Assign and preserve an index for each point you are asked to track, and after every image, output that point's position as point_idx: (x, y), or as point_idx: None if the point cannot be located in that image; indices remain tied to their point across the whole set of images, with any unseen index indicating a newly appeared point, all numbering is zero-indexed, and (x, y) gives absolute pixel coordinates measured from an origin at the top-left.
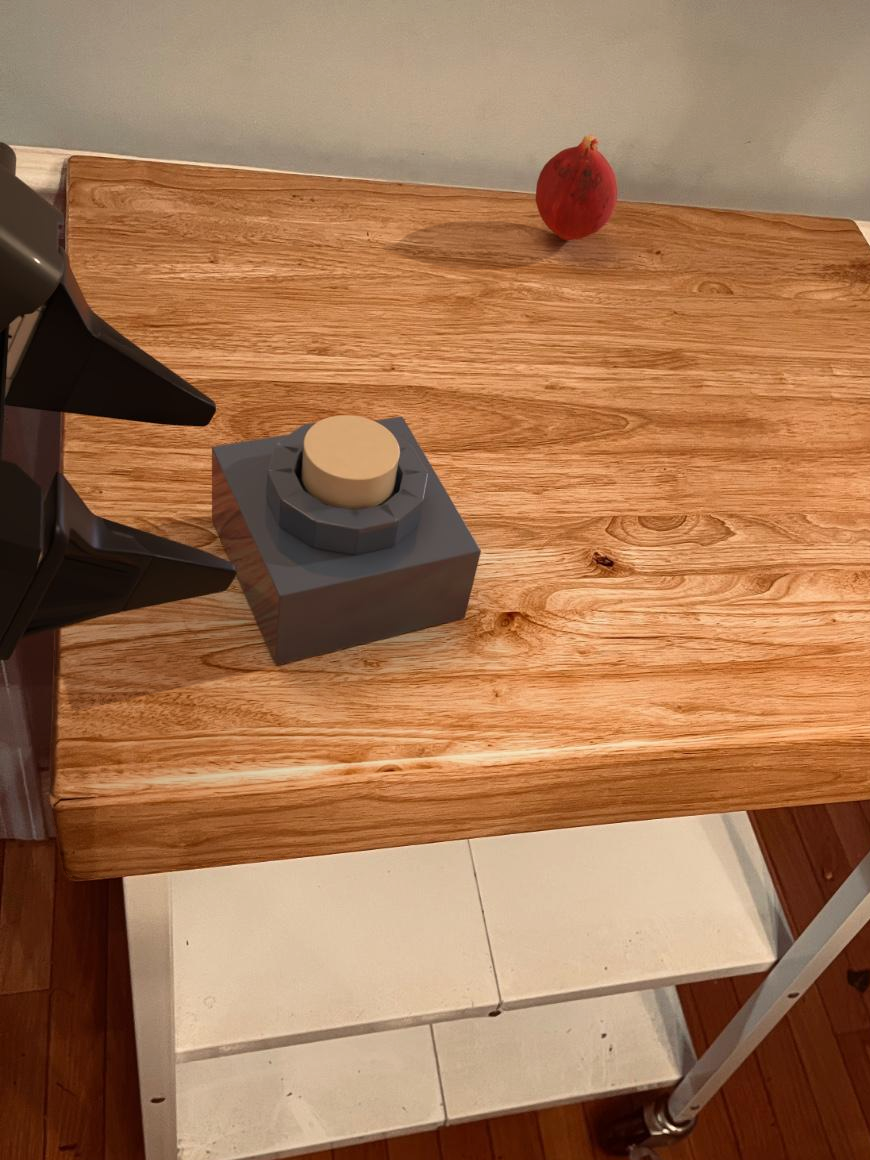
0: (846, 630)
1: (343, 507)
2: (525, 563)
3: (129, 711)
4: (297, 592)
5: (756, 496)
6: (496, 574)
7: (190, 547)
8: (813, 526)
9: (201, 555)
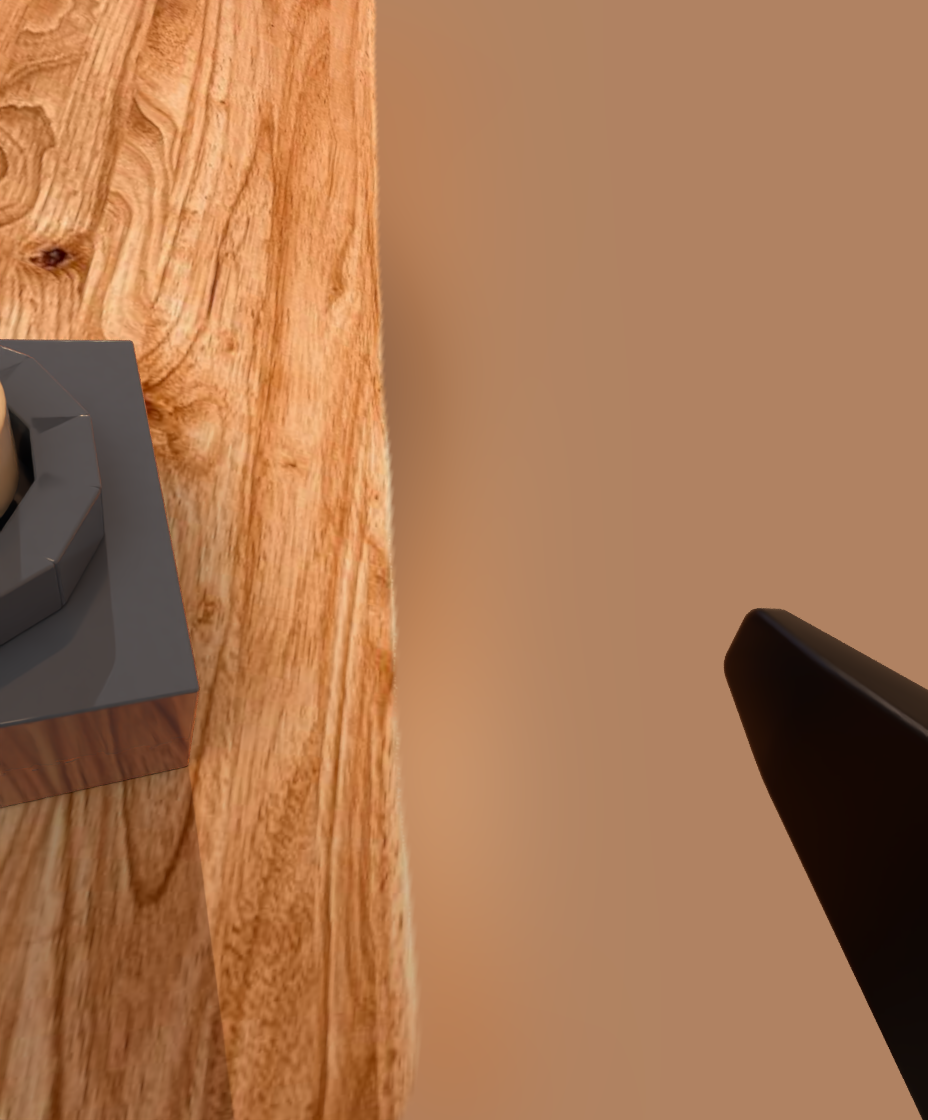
0: (240, 100)
1: (9, 502)
2: None
3: (257, 1051)
4: (192, 656)
5: None
6: None
7: (865, 685)
8: (51, 34)
9: (849, 665)
